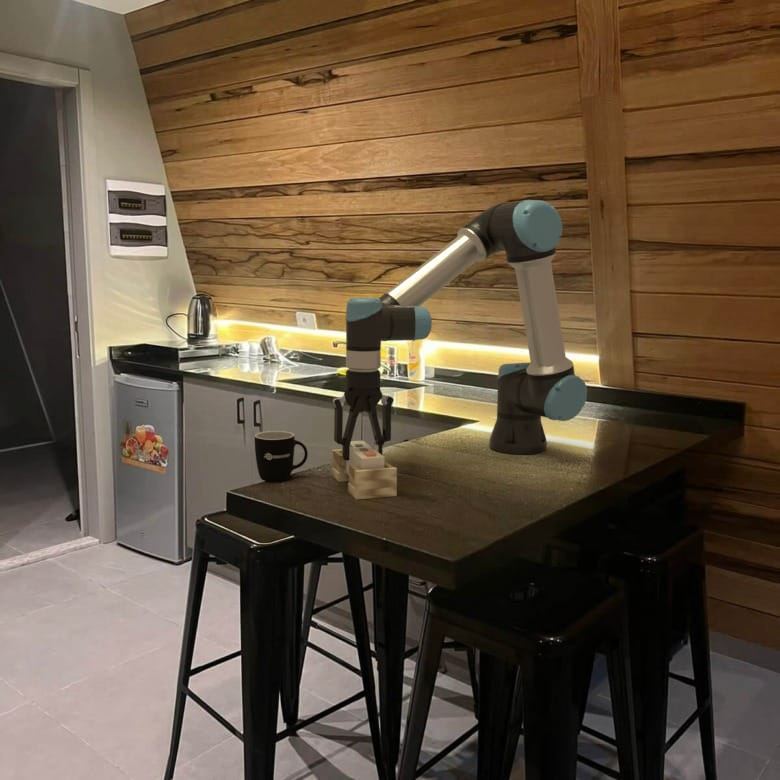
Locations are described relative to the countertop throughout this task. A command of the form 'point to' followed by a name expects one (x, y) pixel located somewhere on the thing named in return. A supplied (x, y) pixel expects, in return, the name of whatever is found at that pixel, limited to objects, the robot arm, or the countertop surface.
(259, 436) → the mug
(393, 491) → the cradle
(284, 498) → the countertop surface
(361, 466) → the power strip
